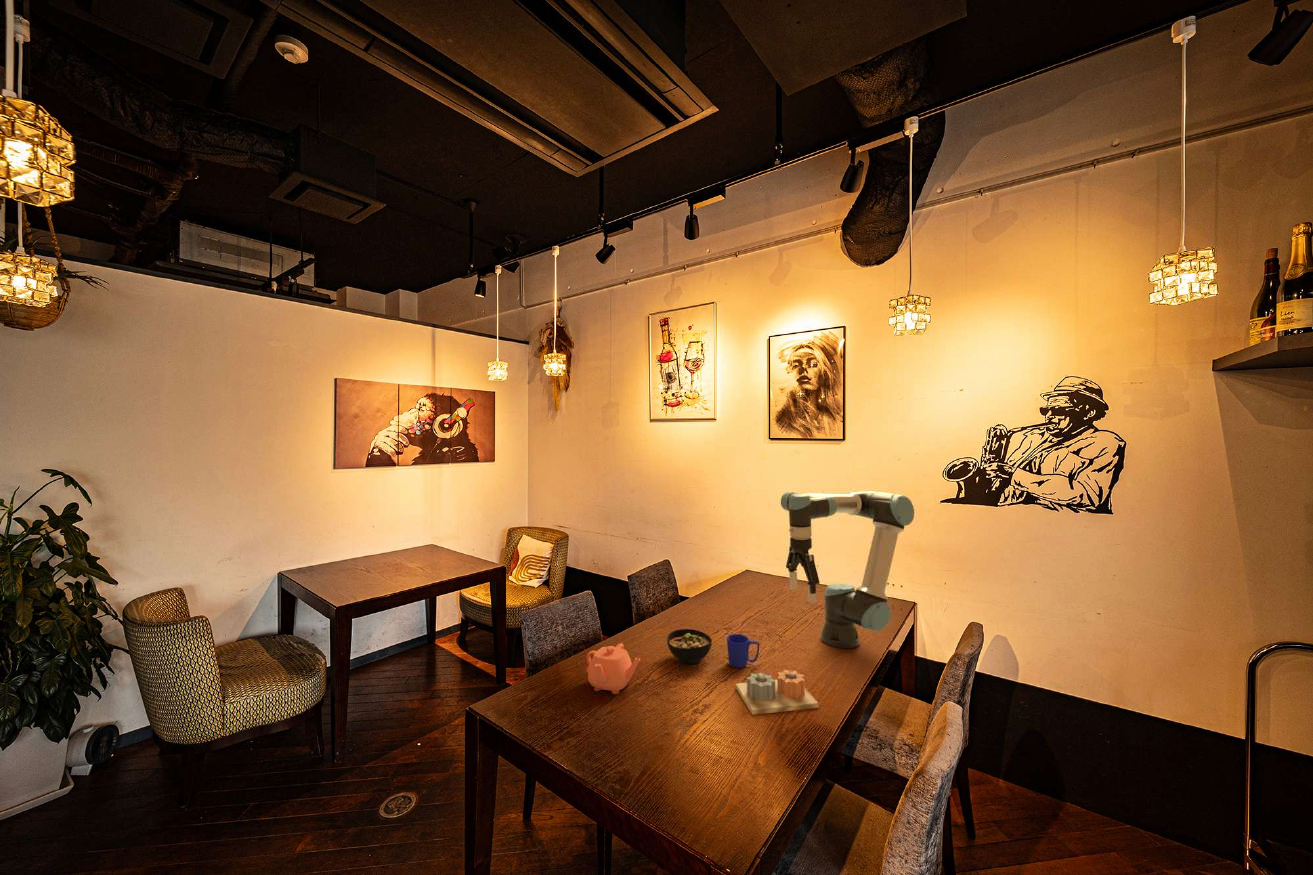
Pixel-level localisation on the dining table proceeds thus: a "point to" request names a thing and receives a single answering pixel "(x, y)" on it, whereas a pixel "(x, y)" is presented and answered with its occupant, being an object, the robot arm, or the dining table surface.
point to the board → (776, 700)
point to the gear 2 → (791, 684)
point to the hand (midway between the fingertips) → (802, 595)
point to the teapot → (610, 668)
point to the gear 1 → (761, 687)
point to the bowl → (689, 646)
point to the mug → (739, 650)
